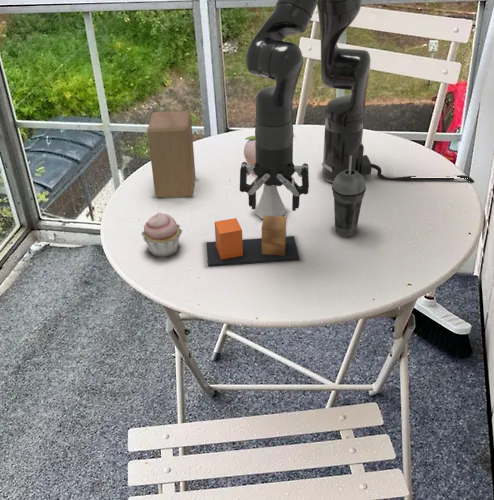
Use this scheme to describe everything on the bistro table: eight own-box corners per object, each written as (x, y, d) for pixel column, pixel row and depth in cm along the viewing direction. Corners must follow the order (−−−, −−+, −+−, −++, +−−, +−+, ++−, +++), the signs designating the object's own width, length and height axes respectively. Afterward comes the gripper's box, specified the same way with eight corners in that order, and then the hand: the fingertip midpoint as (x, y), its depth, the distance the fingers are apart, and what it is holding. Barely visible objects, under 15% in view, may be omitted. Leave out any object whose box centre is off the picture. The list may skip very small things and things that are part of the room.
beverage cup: (363, 224, 152) (370, 146, 140) (360, 242, 146) (367, 162, 135) (331, 220, 154) (336, 144, 143) (327, 238, 149) (331, 160, 137)
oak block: (286, 242, 148) (286, 216, 144) (284, 255, 144) (285, 229, 140) (263, 241, 149) (263, 215, 145) (261, 254, 145) (261, 228, 141)
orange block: (237, 243, 149) (236, 217, 145) (242, 256, 145) (242, 229, 141) (215, 247, 149) (214, 221, 145) (221, 259, 145) (219, 233, 140)
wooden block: (196, 178, 176) (190, 109, 164) (193, 198, 168) (187, 126, 156) (159, 179, 177) (151, 110, 166) (154, 199, 169) (146, 128, 158)
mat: (293, 238, 150) (293, 235, 150) (299, 260, 143) (299, 257, 143) (206, 244, 151) (206, 242, 151) (208, 266, 144) (207, 264, 144)
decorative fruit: (239, 174, 176) (238, 140, 170) (248, 160, 182) (247, 127, 176) (273, 178, 172) (273, 144, 167) (281, 163, 178) (281, 130, 173)
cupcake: (156, 234, 156) (152, 198, 150) (190, 242, 152) (187, 206, 146) (135, 255, 150) (129, 218, 144) (170, 265, 146) (166, 228, 140)
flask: (249, 214, 159) (248, 179, 154) (267, 201, 163) (266, 166, 158) (273, 224, 155) (273, 187, 149) (291, 210, 159) (292, 174, 153)
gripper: (236, 148, 129) (238, 216, 139) (309, 149, 126) (307, 219, 136) (240, 130, 135) (243, 197, 145) (311, 131, 132) (308, 200, 142)
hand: (274, 208), depth 140 cm, fingers open, 8 cm apart
